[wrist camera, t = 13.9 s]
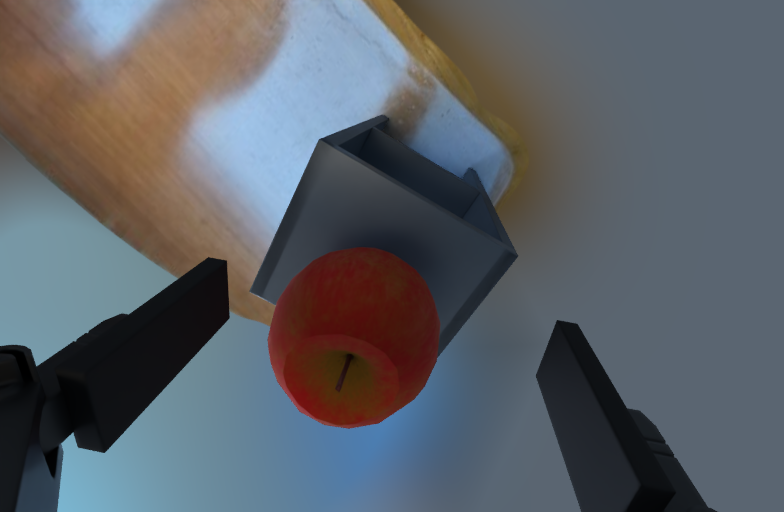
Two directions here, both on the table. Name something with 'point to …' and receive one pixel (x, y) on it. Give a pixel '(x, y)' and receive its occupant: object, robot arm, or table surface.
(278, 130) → the table surface
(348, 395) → the apple
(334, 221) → the shelf
